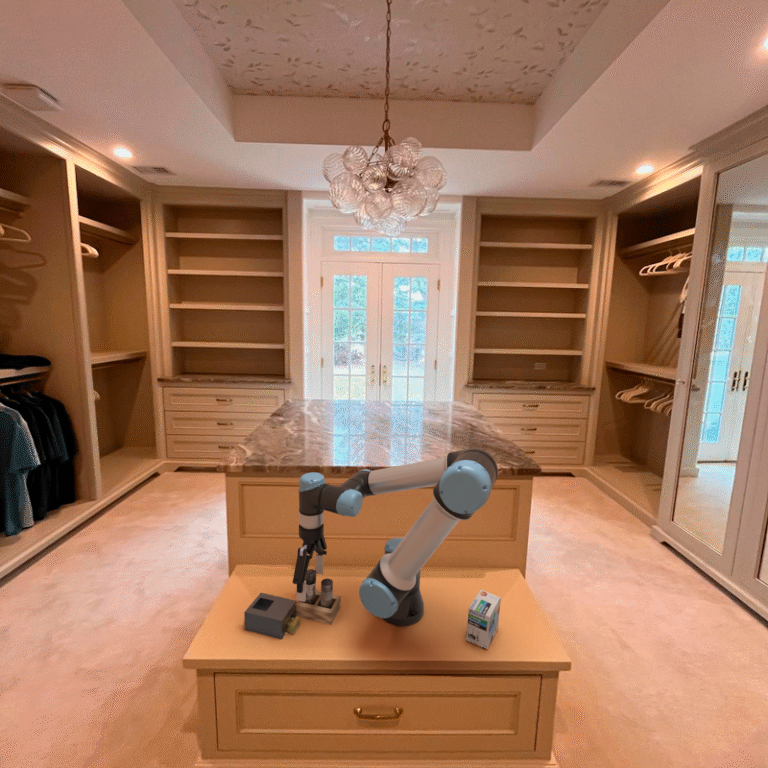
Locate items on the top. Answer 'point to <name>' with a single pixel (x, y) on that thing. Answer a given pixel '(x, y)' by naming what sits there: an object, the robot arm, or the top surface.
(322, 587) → the rack
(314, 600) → the grey peg
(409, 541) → the robot arm
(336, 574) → the top surface
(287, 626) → the yellow rectangular block
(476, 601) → the light bulb box
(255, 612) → the socket block
